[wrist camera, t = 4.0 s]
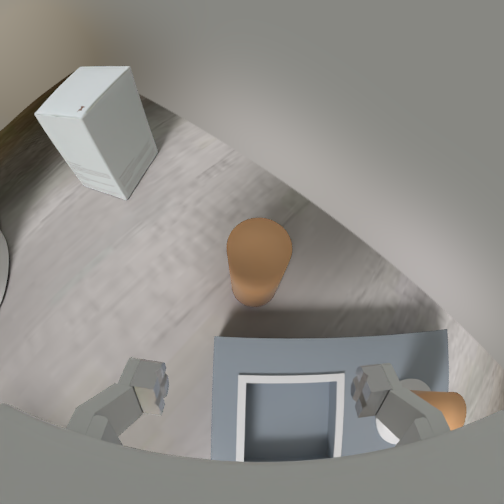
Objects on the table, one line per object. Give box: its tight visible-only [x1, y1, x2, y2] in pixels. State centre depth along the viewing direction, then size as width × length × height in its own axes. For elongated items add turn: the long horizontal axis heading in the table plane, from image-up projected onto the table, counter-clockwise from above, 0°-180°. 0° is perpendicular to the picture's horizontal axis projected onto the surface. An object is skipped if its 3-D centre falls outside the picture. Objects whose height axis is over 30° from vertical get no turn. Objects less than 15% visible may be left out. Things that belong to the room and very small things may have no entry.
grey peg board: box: [211, 329, 466, 462], centre depth 18 cm, size 21×14×9 cm, turn 88°
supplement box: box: [35, 66, 158, 200], centre depth 25 cm, size 7×7×13 cm
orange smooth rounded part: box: [227, 218, 292, 307], centre depth 22 cm, size 4×4×9 cm
